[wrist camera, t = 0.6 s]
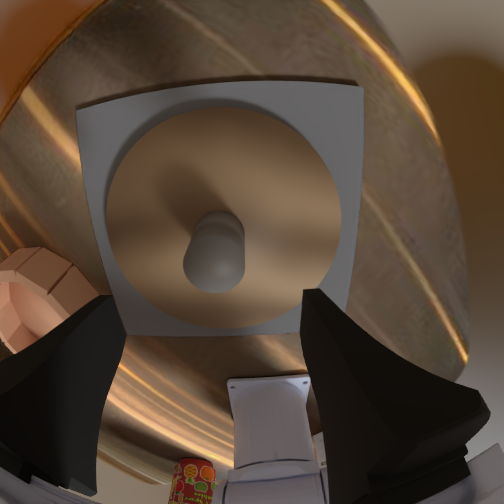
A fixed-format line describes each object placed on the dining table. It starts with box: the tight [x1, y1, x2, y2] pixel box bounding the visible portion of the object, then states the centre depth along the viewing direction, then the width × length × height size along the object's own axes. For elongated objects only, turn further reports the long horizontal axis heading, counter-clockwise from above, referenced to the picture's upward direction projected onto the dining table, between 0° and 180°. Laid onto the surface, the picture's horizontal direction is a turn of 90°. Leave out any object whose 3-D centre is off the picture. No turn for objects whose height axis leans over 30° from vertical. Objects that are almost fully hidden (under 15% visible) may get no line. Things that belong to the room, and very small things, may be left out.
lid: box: [106, 107, 341, 329], centre depth 15 cm, size 15×15×5 cm
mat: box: [76, 81, 364, 337], centre depth 18 cm, size 18×18×1 cm
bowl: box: [0, 247, 100, 354], centre depth 19 cm, size 13×13×4 cm
